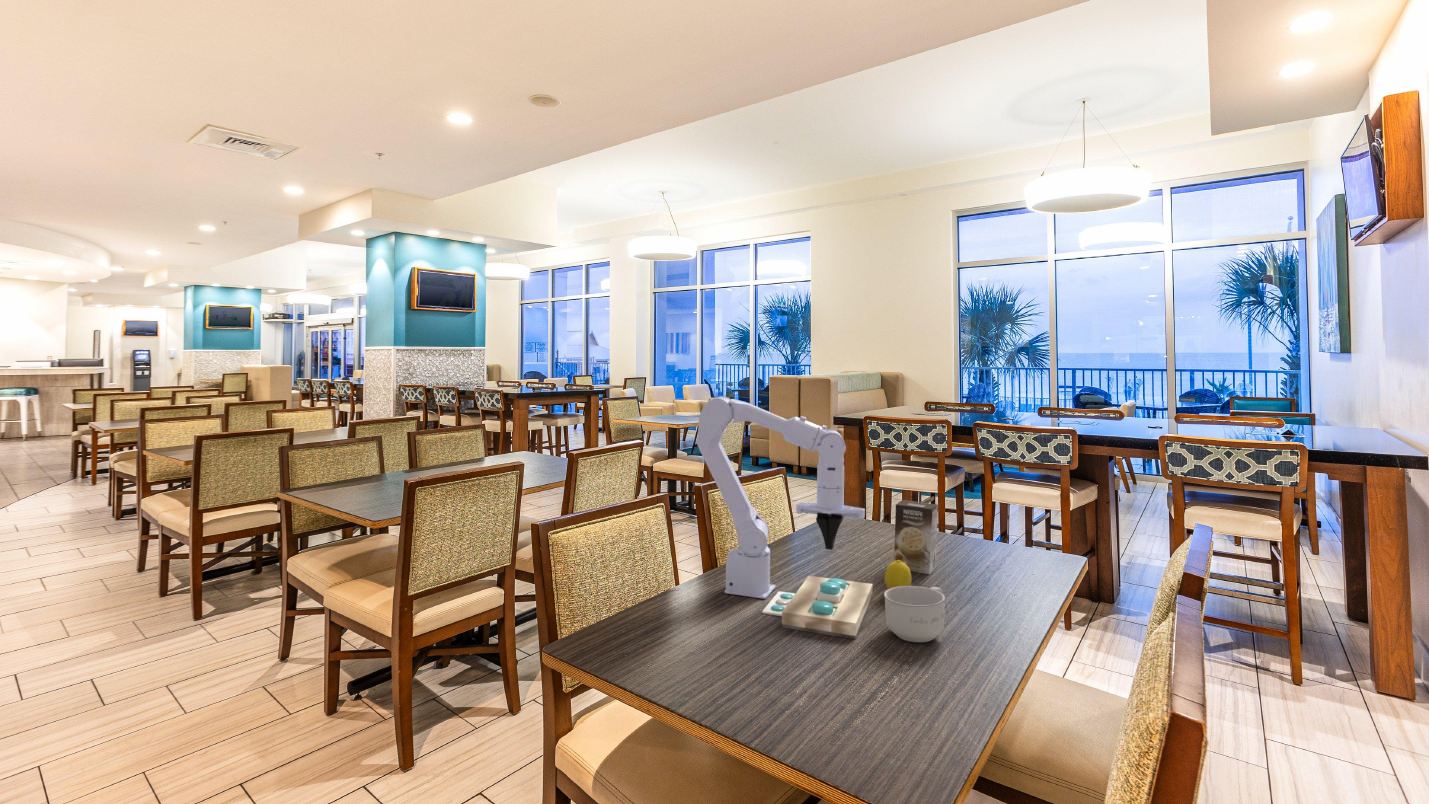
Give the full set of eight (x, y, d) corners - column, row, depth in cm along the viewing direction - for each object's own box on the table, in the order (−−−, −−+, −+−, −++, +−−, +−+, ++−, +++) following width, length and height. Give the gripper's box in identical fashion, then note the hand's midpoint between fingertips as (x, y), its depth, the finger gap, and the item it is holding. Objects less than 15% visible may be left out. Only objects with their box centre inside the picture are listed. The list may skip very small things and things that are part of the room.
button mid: (816, 602, 127) (817, 587, 127) (821, 595, 131) (821, 580, 131) (838, 605, 125) (838, 590, 125) (842, 598, 129) (842, 583, 129)
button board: (781, 627, 121) (781, 611, 121) (808, 588, 141) (808, 575, 141) (855, 639, 116) (855, 623, 115) (872, 597, 136) (872, 583, 136)
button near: (808, 623, 121) (808, 607, 120) (813, 615, 125) (814, 599, 124) (831, 627, 119) (831, 610, 119) (836, 618, 123) (836, 602, 123)
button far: (824, 598, 134) (824, 583, 133) (828, 591, 138) (828, 577, 137) (844, 601, 132) (845, 586, 132) (848, 594, 136) (848, 579, 136)
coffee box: (892, 568, 155) (893, 504, 154) (899, 561, 161) (901, 499, 160) (930, 575, 150) (932, 508, 149) (937, 567, 156) (938, 503, 155)
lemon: (912, 601, 134) (913, 564, 133) (885, 599, 135) (886, 563, 134) (909, 592, 139) (910, 556, 138) (883, 590, 140) (884, 555, 140)
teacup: (913, 653, 110) (914, 609, 109) (871, 630, 120) (871, 589, 119) (969, 637, 116) (970, 595, 116) (924, 616, 126) (925, 577, 125)
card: (762, 613, 127) (762, 610, 127) (778, 593, 139) (778, 590, 138) (786, 616, 126) (786, 614, 126) (800, 596, 137) (801, 593, 137)
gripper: (792, 487, 135) (792, 549, 136) (861, 492, 129) (860, 557, 130) (801, 481, 141) (800, 540, 142) (866, 486, 136) (865, 547, 137)
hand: (829, 548), depth 137 cm, fingers closed
